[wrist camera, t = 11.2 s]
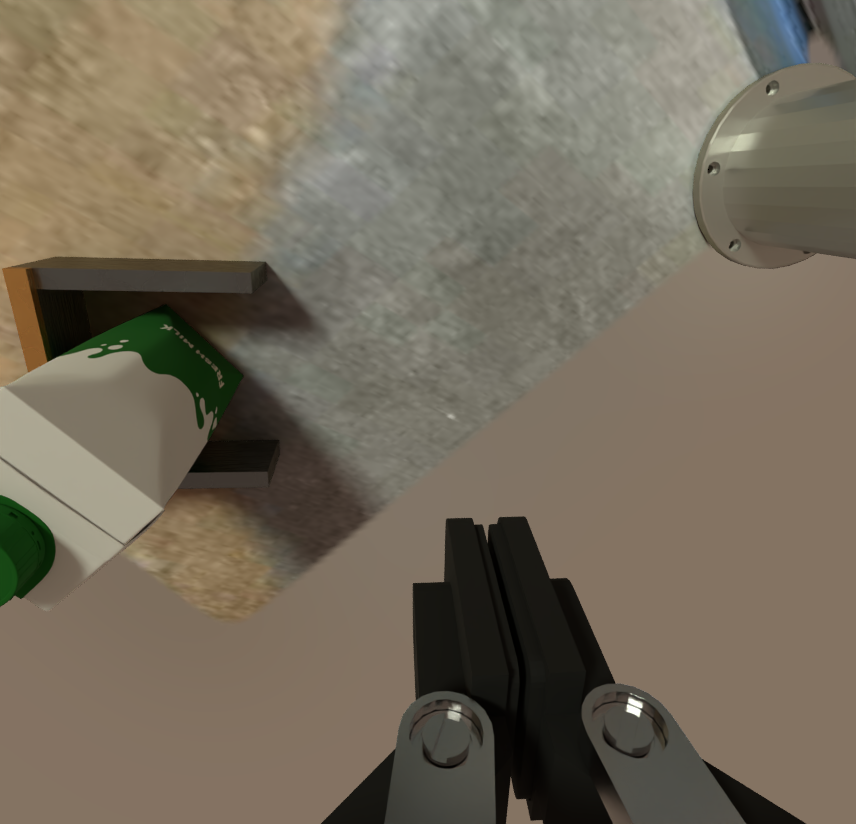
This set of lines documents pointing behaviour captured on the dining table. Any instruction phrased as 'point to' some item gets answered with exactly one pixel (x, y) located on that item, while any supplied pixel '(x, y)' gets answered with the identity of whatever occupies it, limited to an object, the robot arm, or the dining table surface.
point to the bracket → (67, 276)
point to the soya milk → (101, 449)
